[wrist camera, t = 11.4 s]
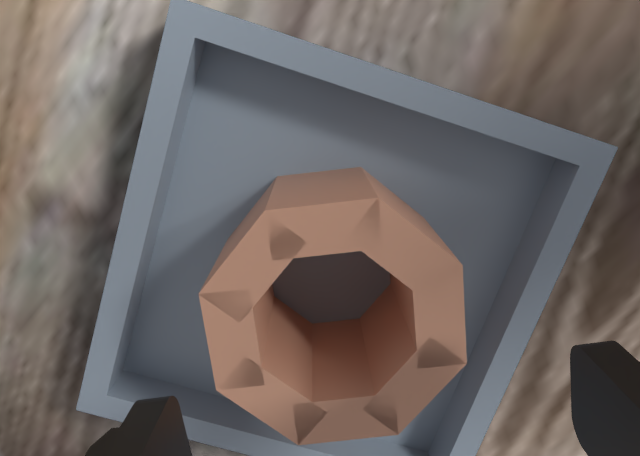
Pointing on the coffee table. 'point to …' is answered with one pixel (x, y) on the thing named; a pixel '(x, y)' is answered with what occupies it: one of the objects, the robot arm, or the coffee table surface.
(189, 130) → the tray
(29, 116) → the coffee table surface
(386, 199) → the ring
